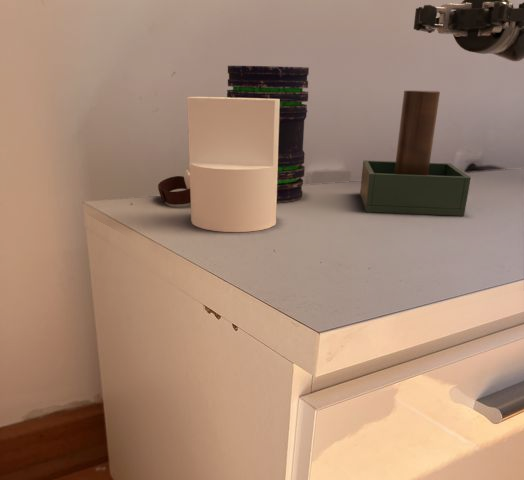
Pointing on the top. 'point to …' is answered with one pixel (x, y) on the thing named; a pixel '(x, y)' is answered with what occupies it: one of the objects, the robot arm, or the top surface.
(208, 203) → the cylinder with rectangular tab
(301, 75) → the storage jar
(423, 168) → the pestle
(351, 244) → the top surface
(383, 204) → the bin
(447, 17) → the robot arm
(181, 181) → the watch
